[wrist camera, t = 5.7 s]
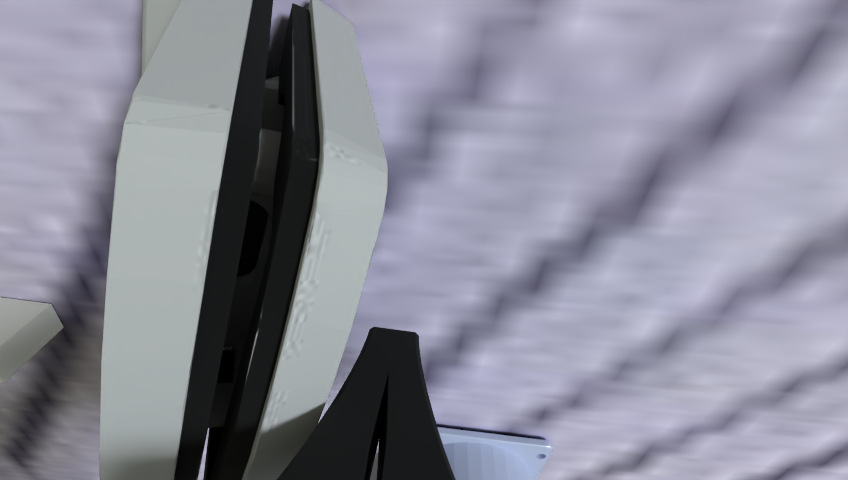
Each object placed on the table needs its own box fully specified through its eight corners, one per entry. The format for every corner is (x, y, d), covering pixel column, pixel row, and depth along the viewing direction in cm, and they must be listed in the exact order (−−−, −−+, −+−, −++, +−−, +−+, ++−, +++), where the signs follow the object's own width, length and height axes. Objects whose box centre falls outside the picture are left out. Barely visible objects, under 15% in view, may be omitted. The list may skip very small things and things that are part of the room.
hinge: (160, -80, 10) (-174, 27, 2) (347, 1, 12) (458, 183, 5) (144, 341, 18) (60, 631, 11) (253, 343, 21) (240, 588, 13)
